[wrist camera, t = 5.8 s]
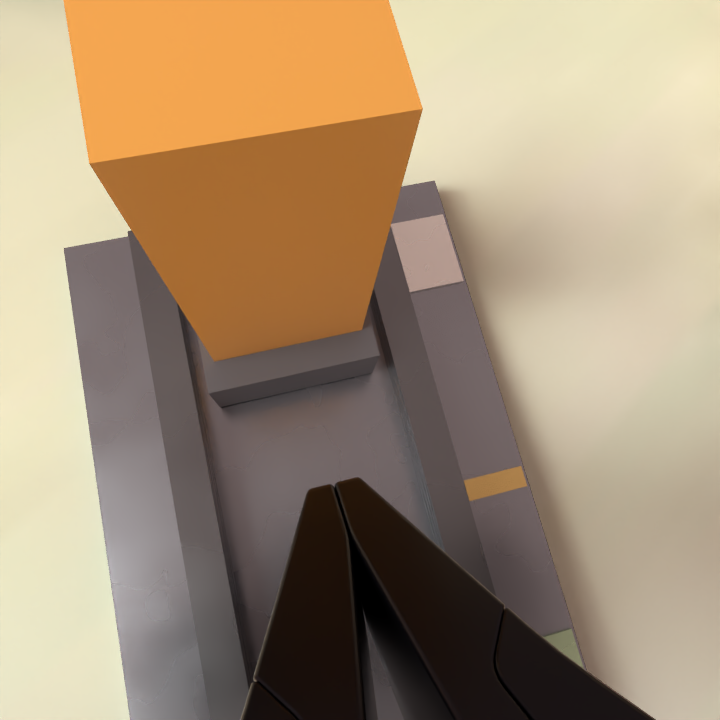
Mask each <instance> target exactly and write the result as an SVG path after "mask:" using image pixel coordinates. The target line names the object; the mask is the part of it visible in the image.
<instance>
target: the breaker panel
mask: <svg viewBox="0 0 720 720" xmlns="http://www.w3.org/2000/svg"><path fill="white" fill-rule="evenodd" d="M64 254H65V261H66V268H67V275H68V282H69V289H70V296H71V303H72V310H73V317H74V325H75V332H76V339H77V346H78V353H79V360H80V367H81V374H82V381H83V388H84V395H85V403H86V410H87V417H88V424H89V431H90V438H91V445H92V452H93V459H94V466H95V473H96V481H97V488H98V495H99V502H100V509H101V516H102V523H103V530H104V537H105V544H106V551H107V559H108V566H109V573H110V580H111V587H112V594H113V601H114V608H115V615H116V622H117V629H118V637H119V644H120V651H121V658H122V665H123V672H124V679H125V686H126V693H127V700H128V707H129V715H130V720H240V719H241V716H242V713H243V710H244V706H245V703H246V699H247V696H248V693H249V689H250V686H251V683H252V682H254V679H253V676H254V673H255V669H256V666H257V662H258V659H259V655H260V652H261V649H262V645H263V642H264V638H265V635H266V631H267V628H268V624H269V621H270V617H271V614H272V610H273V607H274V604H275V600H276V597H277V593H278V590H279V586H280V583H281V579H282V576H283V572H284V569H285V565H286V562H287V559H288V555H289V552H290V548H291V545H292V541H293V538H294V534H295V531H296V527H297V524H298V520H299V517H300V514H301V510H302V507H303V503H304V500H305V496H306V493H307V491H308V490H309V489H311V488H315V487H319V486H323V485H327V484H332V485H333V486H334V488H335V484H336V483H337V482H339V481H343V480H347V479H351V478H355V477H359V478H361V479H362V480H363V481H365V482H366V483H367V484H368V485H369V486H370V487H371V488H373V489H374V490H375V491H376V492H377V493H378V494H379V495H381V496H382V497H383V498H384V499H385V500H386V501H387V502H389V503H390V504H391V505H392V506H393V507H394V508H395V509H397V510H398V511H399V512H400V513H401V514H402V515H403V516H405V517H406V518H407V519H408V520H409V521H410V522H411V523H413V524H414V525H415V526H416V527H417V528H418V529H419V530H420V531H422V532H423V533H424V534H425V535H426V536H427V537H428V538H430V539H431V540H432V541H433V542H434V543H435V544H436V545H438V546H439V547H440V548H441V549H442V550H443V551H444V552H446V553H447V554H448V555H449V556H450V557H451V558H452V559H454V560H455V561H456V562H457V563H458V564H459V565H460V566H462V567H463V568H464V569H465V570H466V571H467V572H468V573H470V574H471V575H472V576H473V577H474V578H475V579H476V580H478V581H479V582H480V583H481V584H482V585H483V586H484V587H485V588H487V589H488V590H489V591H490V592H491V593H492V594H493V595H495V596H496V597H497V598H498V599H499V600H500V601H501V602H503V603H504V605H505V608H510V609H511V610H512V611H513V612H514V613H515V614H517V615H518V616H519V617H520V618H521V619H522V620H523V621H525V622H526V623H527V624H528V625H529V626H530V627H531V628H533V629H534V630H535V631H536V632H537V633H539V634H540V635H541V636H542V637H544V638H545V639H546V640H547V641H548V642H550V643H551V644H552V645H553V646H554V647H556V648H557V649H558V650H559V651H561V652H562V653H563V654H565V655H566V656H567V657H569V658H570V659H571V660H573V661H574V662H576V663H577V664H578V665H580V666H581V667H582V668H584V669H585V670H586V671H587V669H586V666H585V663H584V660H583V657H582V653H581V650H580V647H579V644H578V641H577V637H576V634H575V631H574V628H573V624H572V621H571V618H570V615H569V612H568V608H567V605H566V602H565V599H564V595H563V592H562V589H561V586H560V583H559V579H558V576H557V573H556V570H555V567H554V563H553V560H552V557H551V554H550V550H549V547H548V544H547V541H546V538H545V534H544V531H543V528H542V525H541V521H540V518H539V515H538V512H537V509H536V505H535V502H534V499H533V496H532V492H531V489H530V486H529V483H528V480H527V476H526V473H525V470H524V467H523V464H522V460H521V457H520V454H519V451H518V447H517V444H516V441H515V438H514V435H513V431H512V428H511V425H510V422H509V418H508V415H507V412H506V409H505V406H504V402H503V399H502V396H501V393H500V390H499V386H498V383H497V380H496V377H495V373H494V370H493V367H492V364H491V361H490V357H489V354H488V351H487V348H486V344H485V341H484V338H483V335H482V332H481V328H480V325H479V322H478V319H477V316H476V312H475V309H474V306H473V303H472V299H471V296H470V293H469V290H468V287H467V283H466V280H465V277H464V274H463V270H462V267H461V264H460V261H459V258H458V254H457V251H456V248H455V245H454V242H453V238H452V235H451V232H450V229H449V225H448V222H447V219H446V216H445V213H444V209H443V206H442V203H441V200H440V196H439V193H438V190H437V187H436V184H435V181H430V182H425V183H419V184H414V185H408V186H403V187H401V189H400V193H399V197H398V200H397V204H396V208H395V211H394V215H393V219H392V222H391V226H390V230H389V233H388V237H387V240H386V244H385V248H384V251H383V255H382V259H381V262H380V266H379V270H378V273H377V277H376V280H375V284H374V288H373V291H372V295H371V299H370V302H369V306H368V312H369V316H370V320H371V324H372V327H373V331H374V335H375V339H376V343H377V346H378V350H379V354H380V356H379V359H378V361H377V363H376V366H375V368H374V370H373V373H369V374H365V375H360V376H356V377H351V378H347V379H342V380H338V381H334V382H329V383H325V384H320V385H316V386H312V387H307V388H303V389H298V390H294V391H289V392H285V393H281V394H276V395H272V396H267V397H263V398H258V399H254V400H250V401H245V402H241V403H236V404H232V405H228V406H223V407H219V405H218V404H217V403H216V402H215V401H214V399H213V398H212V397H211V396H210V395H209V394H208V389H207V383H206V378H205V373H204V368H203V362H202V357H201V352H200V347H199V342H198V336H197V333H196V332H195V330H194V329H193V327H192V326H191V324H190V322H189V321H188V319H187V318H186V316H185V314H184V313H183V311H182V310H181V308H180V306H179V305H178V303H177V302H176V300H175V299H174V297H173V295H172V294H171V292H170V291H169V289H168V287H167V286H166V284H165V283H164V281H163V280H162V278H161V276H160V275H159V273H158V272H157V270H156V268H155V267H154V265H153V264H152V262H151V260H150V259H149V257H148V256H147V254H146V253H145V251H144V249H143V248H142V246H141V245H140V243H139V241H138V240H137V238H136V237H135V235H134V233H133V232H132V231H128V237H123V238H118V239H112V240H107V241H101V242H96V243H90V244H85V245H79V246H74V247H68V248H64ZM363 613H364V612H363ZM364 618H365V615H364ZM365 624H366V630H367V637H368V644H369V652H370V660H371V668H372V675H373V683H374V691H375V699H376V707H377V715H378V720H404V718H403V716H402V713H401V711H400V708H399V706H398V703H397V701H396V698H395V695H394V693H393V690H392V688H391V685H390V683H389V680H388V678H387V675H386V672H385V670H384V667H383V665H382V662H381V660H380V657H379V654H378V652H377V649H376V647H375V644H374V642H373V639H372V636H371V634H370V631H369V628H368V625H367V622H366V619H365Z"/></svg>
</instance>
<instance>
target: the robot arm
mask: <svg viewBox="0 0 720 720" xmlns="http://www.w3.org/2000/svg"><path fill="white" fill-rule="evenodd" d="M363 612H364V613H363ZM364 615H365V618H364ZM365 619H366V622H367V625H368V628H369V631H370V634H371V636H372V639H373V642H374V644H375V647H376V649H377V652H378V654H379V657H380V660H381V662H382V665H383V667H384V670H385V672H386V675H387V678H388V680H389V683H390V685H391V688H392V690H393V693H394V695H395V698H396V701H397V703H398V706H399V708H400V711H401V713H402V716H403V718H404V720H656V719H654V718H653V717H651V716H650V715H648V714H647V713H646V712H644V711H643V710H641V709H640V708H639V707H637V706H636V705H634V704H633V703H631V702H630V701H629V700H627V699H626V698H624V697H623V696H621V695H620V694H619V693H617V692H616V691H614V690H613V689H611V688H610V687H609V686H607V685H606V684H604V683H603V682H602V681H600V680H599V679H597V678H596V677H595V676H593V675H592V674H590V673H589V672H588V671H586V670H585V669H584V668H582V667H581V666H580V665H578V664H577V663H576V662H574V661H573V660H571V659H570V658H569V657H567V656H566V655H565V654H563V653H562V652H561V651H559V650H558V649H557V648H556V647H554V646H553V645H552V644H551V643H550V642H548V641H547V640H546V639H545V638H544V637H542V636H541V635H540V634H539V633H537V632H536V631H535V630H534V629H533V628H531V627H530V626H529V625H528V624H527V623H526V622H525V621H523V620H522V619H521V618H520V617H519V616H518V615H517V614H515V613H514V612H513V611H512V610H511V609H510V608H505V605H504V603H503V602H501V601H500V600H499V599H498V598H497V597H496V596H495V595H493V594H492V593H491V592H490V591H489V590H488V589H487V588H485V587H484V586H483V585H482V584H481V583H480V582H479V581H478V580H476V579H475V578H474V577H473V576H472V575H471V574H470V573H468V572H467V571H466V570H465V569H464V568H463V567H462V566H460V565H459V564H458V563H457V562H456V561H455V560H454V559H452V558H451V557H450V556H449V555H448V554H447V553H446V552H444V551H443V550H442V549H441V548H440V547H439V546H438V545H436V544H435V543H434V542H433V541H432V540H431V539H430V538H428V537H427V536H426V535H425V534H424V533H423V532H422V531H420V530H419V529H418V528H417V527H416V526H415V525H414V524H413V523H411V522H410V521H409V520H408V519H407V518H406V517H405V516H403V515H402V514H401V513H400V512H399V511H398V510H397V509H395V508H394V507H393V506H392V505H391V504H390V503H389V502H387V501H386V500H385V499H384V498H383V497H382V496H381V495H379V494H378V493H377V492H376V491H375V490H374V489H373V488H371V487H370V486H369V485H368V484H367V483H366V482H365V481H363V480H362V479H361V478H359V477H355V478H351V479H347V480H343V481H339V482H337V483H336V484H335V488H334V486H333V485H332V484H327V485H323V486H319V487H315V488H311V489H309V490H308V491H307V493H306V496H305V500H304V503H303V507H302V510H301V514H300V517H299V520H298V524H297V527H296V531H295V534H294V538H293V541H292V545H291V548H290V552H289V555H288V559H287V562H286V565H285V569H284V572H283V576H282V579H281V583H280V586H279V590H278V593H277V597H276V600H275V604H274V607H273V610H272V614H271V617H270V621H269V624H268V628H267V631H266V635H265V638H264V642H263V645H262V649H261V652H260V655H259V659H258V662H257V666H256V669H255V673H254V676H253V679H254V682H252V683H251V686H250V689H249V693H248V696H247V699H246V703H245V706H244V710H243V713H242V716H241V719H240V720H378V715H377V707H376V699H375V691H374V683H373V675H372V668H371V660H370V652H369V644H368V637H367V630H366V624H365Z"/></svg>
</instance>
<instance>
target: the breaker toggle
mask: <svg viewBox="0 0 720 720" xmlns="http://www.w3.org/2000/svg"><path fill="white" fill-rule="evenodd" d="M64 6H65V12H66V18H67V25H68V31H69V37H70V44H71V50H72V56H73V63H74V69H75V75H76V82H77V88H78V94H79V101H80V107H81V113H82V120H83V126H84V132H85V139H86V145H87V151H88V158H89V164H90V165H91V167H92V168H93V170H94V172H95V173H96V175H97V176H98V178H99V180H100V181H101V183H102V184H103V186H104V187H105V189H106V191H107V192H108V194H109V195H110V197H111V199H112V200H113V202H114V203H115V205H116V207H117V208H118V210H119V211H120V213H121V214H122V216H123V218H124V219H125V221H126V222H127V224H128V226H129V227H130V229H131V230H132V232H133V233H134V235H135V237H136V238H137V240H138V241H139V243H140V245H141V246H142V248H143V249H144V251H145V253H146V254H147V256H148V257H149V259H150V260H151V262H152V264H153V265H154V267H155V268H156V270H157V272H158V273H159V275H160V276H161V278H162V280H163V281H164V283H165V284H166V286H167V287H168V289H169V291H170V292H171V294H172V295H173V297H174V299H175V300H176V302H177V303H178V305H179V306H180V308H181V310H182V311H183V313H184V314H185V316H186V318H187V319H188V321H189V322H190V324H191V326H192V327H193V329H194V330H195V332H196V333H197V336H198V342H199V347H200V352H201V357H202V362H203V368H204V373H205V378H206V383H207V389H208V394H209V395H210V396H211V397H212V398H213V399H214V401H215V402H216V403H217V404H218V405H219V407H223V406H228V405H232V404H236V403H241V402H245V401H250V400H254V399H258V398H263V397H267V396H272V395H276V394H281V393H285V392H289V391H294V390H298V389H303V388H307V387H312V386H316V385H320V384H325V383H329V382H334V381H338V380H342V379H347V378H351V377H356V376H360V375H365V374H369V373H373V370H374V368H375V366H376V363H377V361H378V359H379V356H380V354H379V350H378V346H377V343H376V339H375V335H374V331H373V327H372V324H371V320H370V316H369V312H368V306H369V302H370V299H371V295H372V291H373V288H374V284H375V280H376V277H377V273H378V270H379V266H380V262H381V259H382V255H383V251H384V248H385V244H386V240H387V237H388V233H389V230H390V226H391V222H392V219H393V215H394V211H395V208H396V204H397V200H398V197H399V193H400V189H401V186H402V182H403V179H404V175H405V171H406V168H407V164H408V160H409V157H410V153H411V149H412V146H413V142H414V139H415V135H416V131H417V128H418V124H419V120H420V117H421V113H422V109H423V108H422V105H421V102H420V99H419V96H418V93H417V89H416V86H415V83H414V80H413V77H412V74H411V70H410V67H409V64H408V61H407V58H406V55H405V51H404V48H403V45H402V42H401V39H400V36H399V32H398V29H397V26H396V23H395V20H394V17H393V13H392V10H391V7H390V4H389V1H388V0H64Z"/></svg>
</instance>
